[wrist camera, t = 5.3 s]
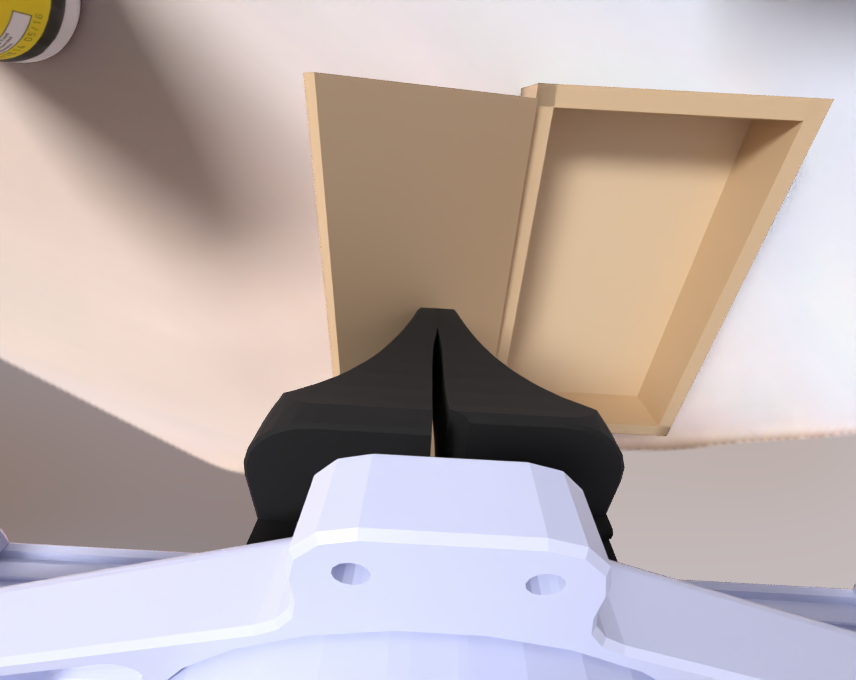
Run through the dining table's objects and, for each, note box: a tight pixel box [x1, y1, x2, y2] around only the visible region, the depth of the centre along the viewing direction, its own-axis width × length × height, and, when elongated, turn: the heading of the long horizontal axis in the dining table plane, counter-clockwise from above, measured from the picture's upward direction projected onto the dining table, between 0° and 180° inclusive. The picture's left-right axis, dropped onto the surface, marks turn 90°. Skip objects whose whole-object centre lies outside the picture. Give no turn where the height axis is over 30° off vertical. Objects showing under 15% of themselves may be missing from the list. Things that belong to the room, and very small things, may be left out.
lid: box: [303, 72, 538, 457], centre depth 13 cm, size 8×13×1 cm
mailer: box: [496, 83, 834, 436], centre depth 16 cm, size 9×14×3 cm, turn 177°
